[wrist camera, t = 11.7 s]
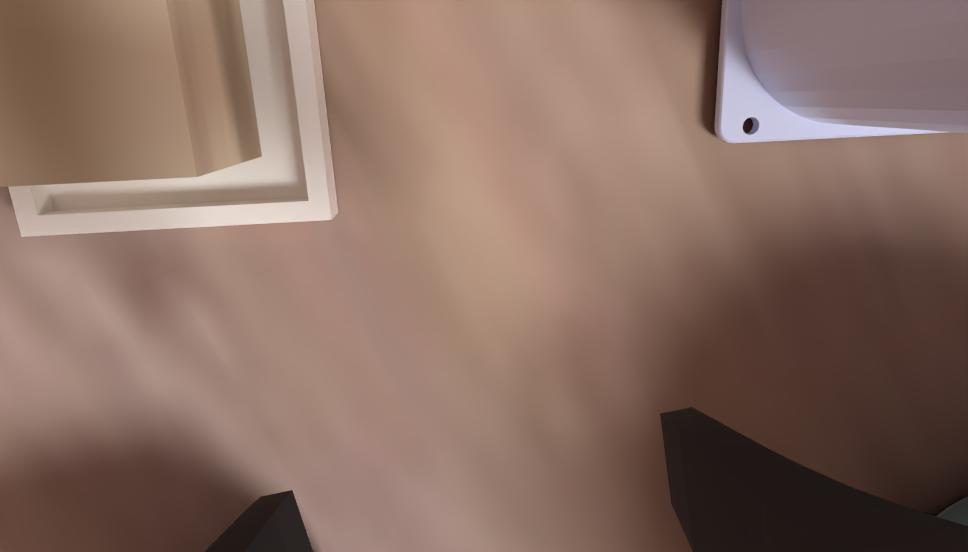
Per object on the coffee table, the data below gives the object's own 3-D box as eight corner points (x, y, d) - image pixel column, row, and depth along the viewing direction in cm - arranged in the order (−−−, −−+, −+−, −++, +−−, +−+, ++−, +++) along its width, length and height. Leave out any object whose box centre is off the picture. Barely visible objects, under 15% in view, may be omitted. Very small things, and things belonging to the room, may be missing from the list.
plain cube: (235, -26, 17) (152, -75, 12) (262, 156, 18) (197, 177, 14) (50, -20, 17) (-109, -67, 12) (92, 165, 18) (-35, 188, 13)
